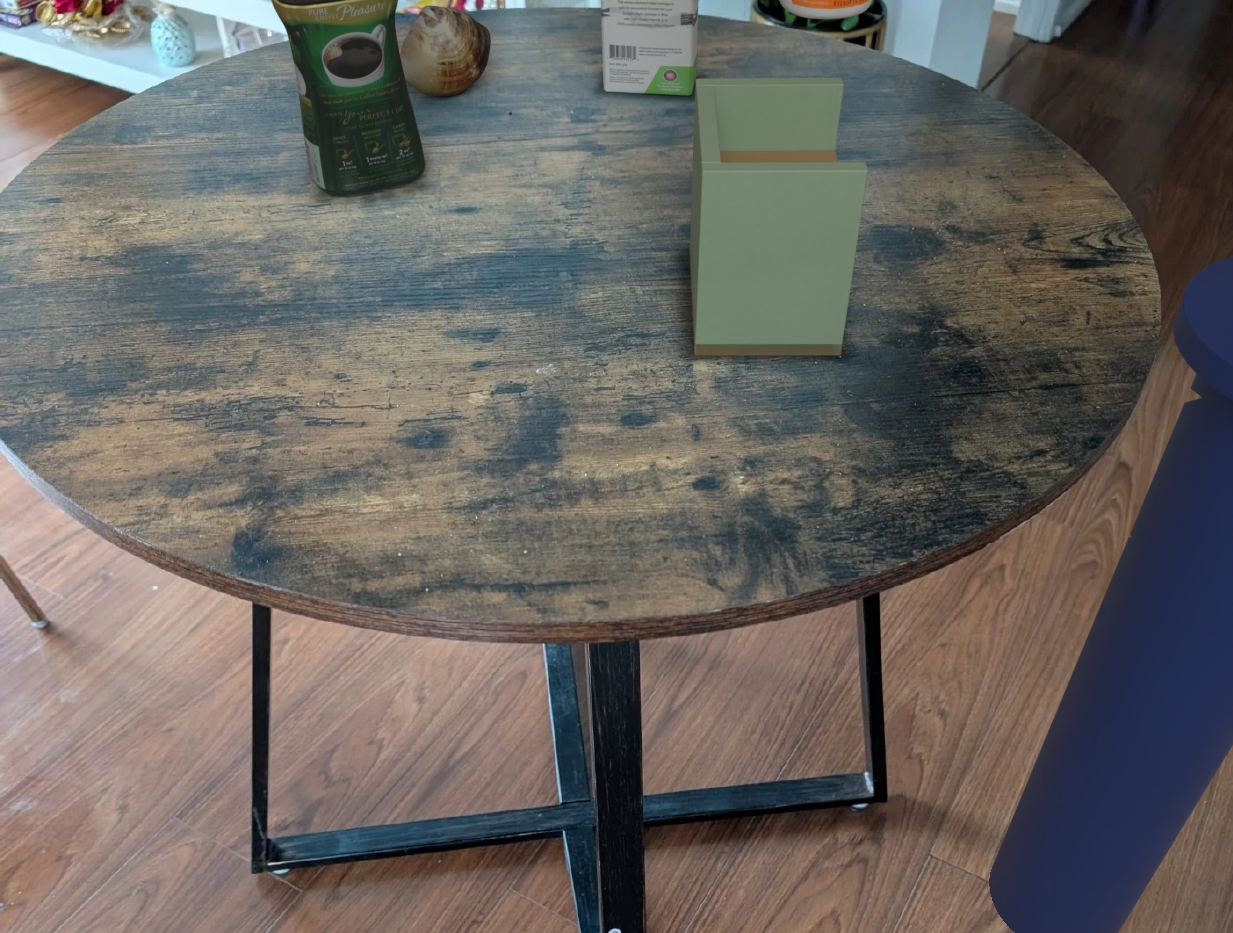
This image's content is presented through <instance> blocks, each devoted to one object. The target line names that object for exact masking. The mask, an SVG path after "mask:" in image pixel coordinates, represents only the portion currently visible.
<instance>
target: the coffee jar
mask: <svg viewBox="0 0 1233 933" xmlns="http://www.w3.org/2000/svg"><path fill="white" fill-rule="evenodd" d="M271 3H272V6H273V9H274V11H275V13H276V15H277V17H278V18H279V20H280V22H281V23H282V25H283V27H284V29H285V32H286V34H287V38H288V43H289V48H290V51H291V56H292V60H293V66H294V72H295V78H296V84H297V92H298V101H299V108H300V115H301V116H300V117H301V124H302V125H301V126H302V134H303V141H304V142H303V143H304V150H305V155H306V159H307V160H306V161H307V165H308V169H309V175H310V176H311V179H312V181H313V182H314V184H315V186H316V187H317V188H318V189H320V190H321V191H323V192H325V193H327V194H330V195H332V196H336V197H350V196H357V195H364V194H371V193H374V192H375V193H376V192H379V191H384V190H389V189H393V188H398V187H403V186H406V185H408V184H412V183H414V182H415V181H417V180H418V179H419V178H420V177H421V176H422V174H424V171H425V168H426V160H425V154H424V149H423V143H422V139H421V135H420V131H419V127H418V122H417V118H416V115H415V112H414V108H413V104H412V100H411V95H410V92H409V88H408V84H407V83H406V80H405V75H404V71H403V67H402V62H401V57H400V53H401V51H400V47H399V44H398V42H399V41H398V35H397V28H396V27H397V26H396V13H397V8H398V4H399V0H271Z"/></svg>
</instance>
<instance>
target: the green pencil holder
mask: <svg viewBox="0 0 1233 933" xmlns="http://www.w3.org/2000/svg"><path fill="white" fill-rule="evenodd" d="M844 87H845V84H844V81H843V77H734V78H733V77H730V78H728V77H727V78H726V77H723V78H722V77H721V78H717V77H716V78H715V77H713V78H710V77H709V78H708V77H707V78H705V77H704V78H696V80H695V85H694V88H695V90H694V117H693V120H694V121H693V146H692V172H691V173H692V174H691V175H692V176H691V199H690V200H691V202H690V228H689V270H690V290H691V309H692V310H691V311H692V312H691V314H692V330H693V333H692V334H693V353H694V356H841V355H842V351H843V350H842V349H843V344H844V342H843V341H844V336H845V335H844V334H845V328H846V322H847V315H848V308H849V302H850V296H851V288H852V283H853V276H854V275H853V274H854V269H855V261H856V255H857V247H858V241H859V234H860V228H861V221H862V215H863V208H864V200H865V195H866V194H865V193H866V188H867V180H868V174H869V168H868V166H867V163H866V162H865V161H839V159H838V154H837V152H836V150H837V143H838V142H837V141H838V133H839V127H840V126H839V125H840V119H841V110H842V102H843V96H844V95H843V94H844Z"/></svg>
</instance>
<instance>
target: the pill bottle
mask: <svg viewBox="0 0 1233 933" xmlns="http://www.w3.org/2000/svg"><path fill="white" fill-rule="evenodd" d="M872 2H873V0H779V4H780V5H781V7H782V8H784V9H785V10H786V11H787V12H789V13H790V14H793V15H795V16H798V17H801V18H806V19H813V20H839V19H847V18H851V17H855V16H858V15H860V14H863V13H865V11H867V10H868V9H869V8H870V6H871V5H872Z"/></svg>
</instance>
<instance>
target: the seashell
mask: <svg viewBox="0 0 1233 933" xmlns="http://www.w3.org/2000/svg"><path fill="white" fill-rule="evenodd" d="M491 38H492V37H491V33H490V31H489V29H488V28H487V26H485V25H483V24H482V23H481V22H479V21H477V20H476V19H475V18H474V17H473V16H471V15H470V14H469V13H467V12H464V11H462V10H460V9H458V8H455V7H446V6H438V5H424V6H423V7H422V8H421V10H420V11H419V12H418V14H417V17H416V18H415V20H414V22H413V24H412V26H411V28H410V29H409V32H408V33H407V35H406V36H405V38H404V40H403V42H402V45H401V47H400V57H401V62H402V67H403V71H404V75H405V80H406V84H407V86H409V87H411V88H413V89H414V90H415V91H417V92H420V93H421V94H424V95H427V96H431V97H432V96H433V97H451V96H455V95H456V96H457V95H458V94H461V93H462V92H465V91H466V90H467V89H468V88H469V87H471V86H472V85H474V84H475V83H476V82H477V81H478V80H479V79H480V78H481V76H482V75H483V73H484V71H485V69H486V67H487V66H488V61H489V58H490V53H491V44H492V40H491Z"/></svg>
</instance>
